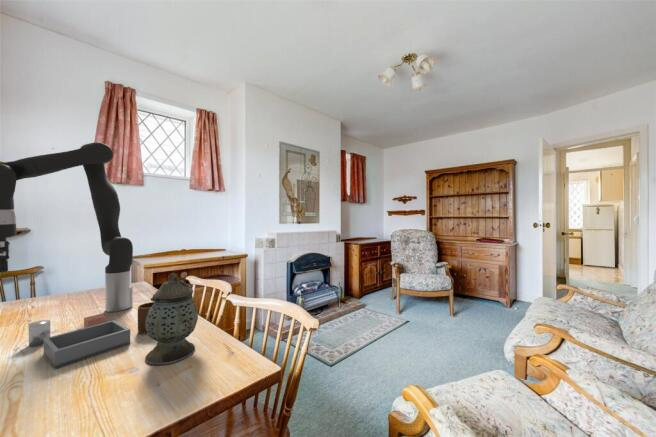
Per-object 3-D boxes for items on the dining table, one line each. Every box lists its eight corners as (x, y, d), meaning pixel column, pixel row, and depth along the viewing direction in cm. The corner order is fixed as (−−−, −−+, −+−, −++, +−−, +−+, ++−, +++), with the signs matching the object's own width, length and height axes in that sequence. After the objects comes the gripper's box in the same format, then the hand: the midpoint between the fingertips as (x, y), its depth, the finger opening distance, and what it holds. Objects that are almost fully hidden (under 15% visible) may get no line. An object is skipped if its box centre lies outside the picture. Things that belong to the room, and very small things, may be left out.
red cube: (101, 326, 105) (100, 313, 105) (105, 329, 102) (105, 316, 102) (84, 331, 100) (84, 317, 100) (88, 334, 98) (88, 320, 98)
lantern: (151, 347, 88) (151, 270, 88) (199, 339, 93) (199, 267, 93) (138, 370, 75) (138, 280, 75) (195, 360, 80) (194, 276, 80)
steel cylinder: (48, 338, 94) (48, 318, 94) (52, 342, 91) (51, 321, 91) (27, 344, 90) (27, 323, 90) (30, 348, 87) (30, 327, 87)
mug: (172, 330, 100) (172, 305, 100) (150, 338, 94) (150, 311, 94) (155, 324, 107) (155, 300, 106) (133, 331, 100) (133, 306, 100)
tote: (114, 333, 98) (114, 320, 98) (130, 344, 90) (130, 329, 90) (43, 354, 83) (43, 338, 83) (54, 369, 75) (54, 351, 75)
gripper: (18, 223, 90) (21, 271, 91) (13, 222, 99) (15, 266, 99) (-18, 224, 84) (-15, 275, 85) (-21, 223, 93) (-18, 270, 93)
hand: (1, 270), depth 92 cm, fingers open, 8 cm apart
